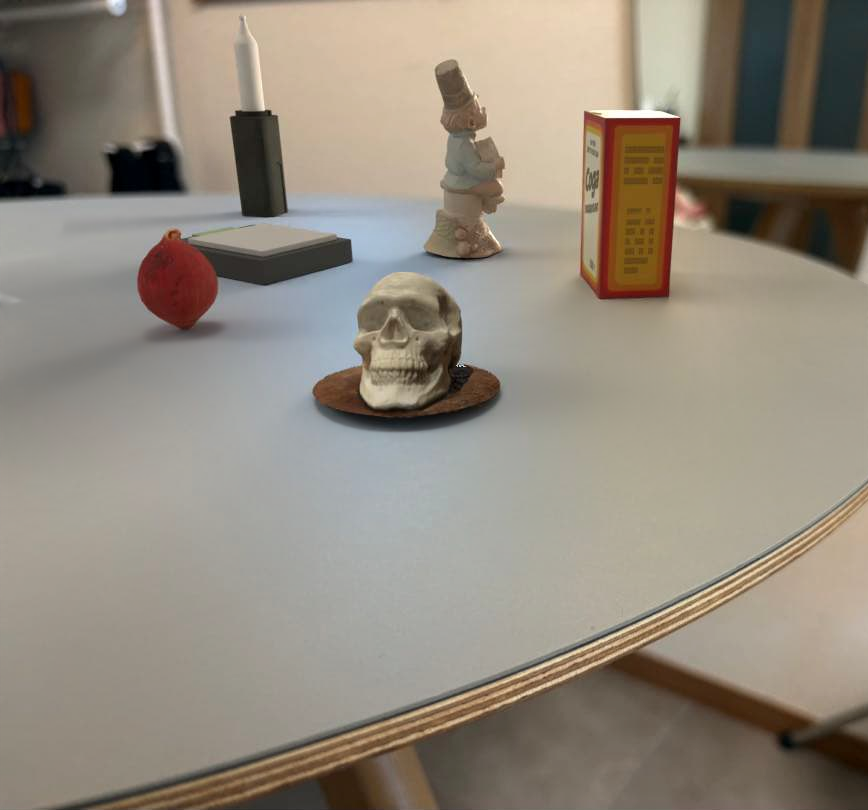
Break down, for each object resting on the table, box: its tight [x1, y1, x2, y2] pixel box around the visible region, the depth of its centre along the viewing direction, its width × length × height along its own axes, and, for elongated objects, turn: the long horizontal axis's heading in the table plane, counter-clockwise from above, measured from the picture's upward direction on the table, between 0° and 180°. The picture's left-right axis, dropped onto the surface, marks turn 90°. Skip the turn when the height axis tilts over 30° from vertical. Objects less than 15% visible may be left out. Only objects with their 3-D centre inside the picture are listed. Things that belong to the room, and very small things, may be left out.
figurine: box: [422, 58, 507, 259], centre depth 91 cm, size 9×8×20 cm
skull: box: [312, 271, 501, 419], centre depth 55 cm, size 12×10×10 cm
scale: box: [181, 222, 354, 286], centre depth 89 cm, size 15×12×3 cm
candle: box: [229, 13, 289, 218], centre depth 112 cm, size 5×5×25 cm
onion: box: [136, 227, 219, 330], centre depth 67 cm, size 6×6×8 cm
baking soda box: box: [579, 109, 682, 300], centre depth 79 cm, size 10×6×16 cm
